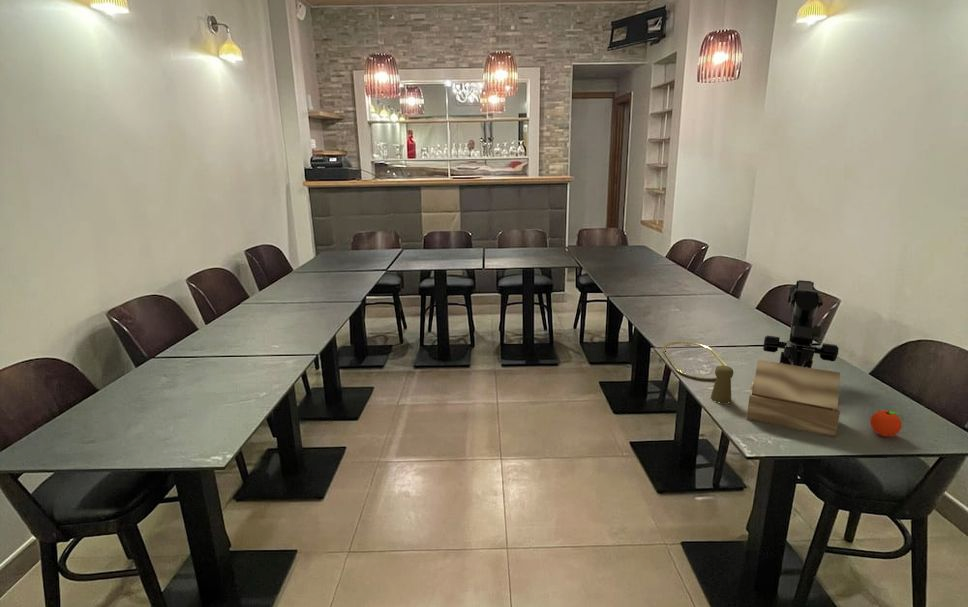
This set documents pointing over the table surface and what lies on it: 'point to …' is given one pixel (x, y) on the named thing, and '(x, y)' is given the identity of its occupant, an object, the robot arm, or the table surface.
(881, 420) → the clementine
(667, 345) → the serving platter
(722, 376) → the cork
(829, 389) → the carton flap
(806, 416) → the kraft carton
